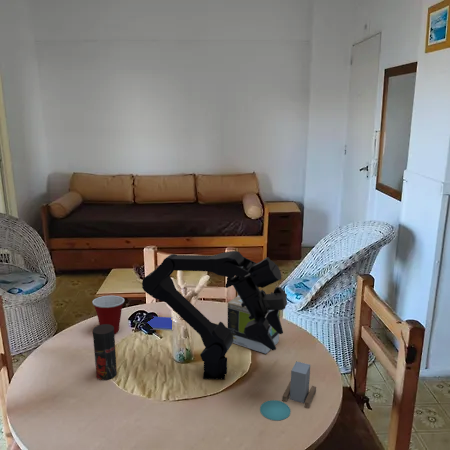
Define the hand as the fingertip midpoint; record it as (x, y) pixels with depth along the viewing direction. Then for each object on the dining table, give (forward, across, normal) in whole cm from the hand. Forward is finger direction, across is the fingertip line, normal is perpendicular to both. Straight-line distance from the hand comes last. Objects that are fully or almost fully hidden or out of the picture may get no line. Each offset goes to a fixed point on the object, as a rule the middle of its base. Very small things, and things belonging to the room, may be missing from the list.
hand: (278, 341), depth 128 cm
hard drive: (-14, +22, +49) cm, 56 cm away
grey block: (+16, -2, +2) cm, 16 cm away
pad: (+13, -10, +6) cm, 18 cm away
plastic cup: (-22, +12, +60) cm, 65 cm away
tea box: (+5, +22, +19) cm, 29 cm away
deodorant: (-14, -11, +49) cm, 52 cm away
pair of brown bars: (+16, -2, +2) cm, 16 cm away
